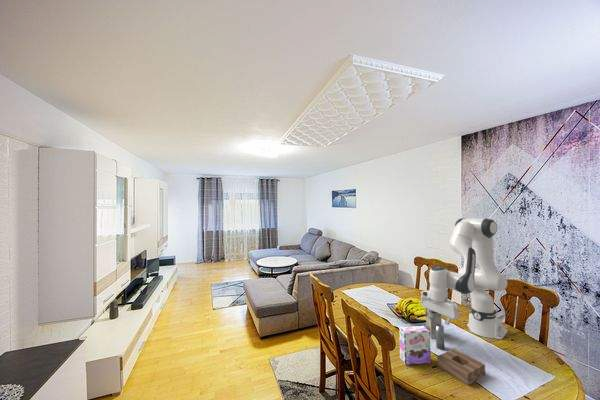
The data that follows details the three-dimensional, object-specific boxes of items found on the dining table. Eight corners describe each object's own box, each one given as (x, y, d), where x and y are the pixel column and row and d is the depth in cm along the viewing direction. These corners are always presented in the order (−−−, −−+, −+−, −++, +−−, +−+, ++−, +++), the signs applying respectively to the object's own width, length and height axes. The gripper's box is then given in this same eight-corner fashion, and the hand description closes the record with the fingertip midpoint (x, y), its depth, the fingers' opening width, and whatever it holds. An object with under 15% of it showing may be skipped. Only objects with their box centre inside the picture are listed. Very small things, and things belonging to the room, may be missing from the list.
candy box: (405, 365, 117) (404, 332, 118) (399, 358, 123) (398, 326, 124) (431, 363, 118) (430, 330, 119) (424, 356, 124) (423, 325, 125)
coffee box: (425, 330, 149) (425, 305, 150) (436, 331, 148) (436, 306, 148) (431, 338, 140) (430, 311, 141) (442, 339, 139) (441, 312, 139)
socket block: (454, 358, 122) (454, 348, 122) (485, 375, 110) (485, 364, 110) (437, 366, 116) (437, 356, 116) (467, 385, 104) (467, 374, 104)
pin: (439, 345, 134) (438, 323, 134) (446, 348, 130) (445, 326, 131) (434, 346, 132) (434, 325, 132) (441, 350, 129) (440, 328, 129)
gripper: (461, 301, 124) (461, 327, 123) (425, 289, 142) (426, 312, 142) (453, 303, 121) (454, 330, 121) (418, 290, 140) (419, 314, 139)
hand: (439, 320), depth 131 cm, fingers open, 8 cm apart
